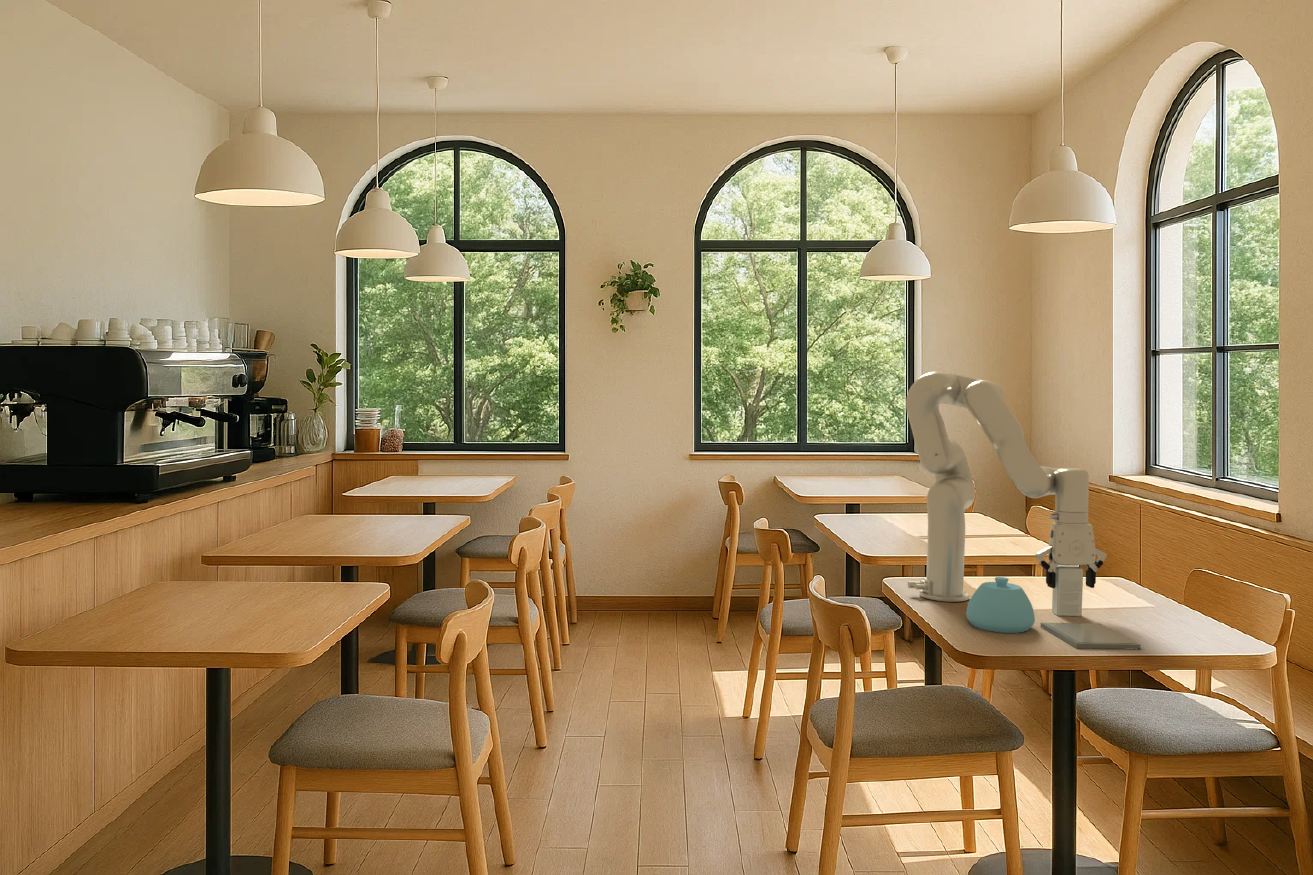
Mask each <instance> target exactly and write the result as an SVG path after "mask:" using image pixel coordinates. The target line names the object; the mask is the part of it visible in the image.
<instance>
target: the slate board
mask: <svg viewBox="0 0 1313 875" xmlns="http://www.w3.org/2000/svg"><path fill="white" fill-rule="evenodd" d="M1042 627H1043V628H1044V629H1043V628H1042ZM1040 628H1042V629H1043V630H1045V631H1047V632H1048V631H1049V632H1048V633H1050V634H1052V635H1054V636H1055V637H1057V638H1058V637H1059V638H1058V639H1059V640H1062V641H1063V642H1065V643H1067V644H1068V645H1070V646H1072V647H1074V649H1092V648H1142V647H1141V644H1140V643H1138V642H1137V641H1134V640H1132V639H1131V638H1129V637H1127V636H1125V635H1123V634H1121V633H1119V632H1117V631H1115V630H1114V629H1112V628H1109V627H1107V626H1105V625H1103V624H1101V623H1094V622H1093V623H1089V622H1088V623H1087V622H1086V623H1085V622H1084V623H1083V622H1082V623H1079V622H1077V623H1076V622H1040Z"/></svg>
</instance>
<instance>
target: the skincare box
mask: <svg viewBox="0 0 1313 875" xmlns="http://www.w3.org/2000/svg"><path fill="white" fill-rule="evenodd" d="M1054 572H1055V573H1056V587H1055V588H1052V593H1051V594H1052V598H1051V599H1052V601H1051V604H1052V605H1051V612H1052V613H1053V614H1054V613H1055V614H1054V615H1055V616H1057V617H1058V616H1059V617H1060V616H1061V617H1062V616H1063V617H1082V614H1083V613H1082V611H1083V590H1084V588H1083V584H1084V582H1083V581H1084V568H1082V567H1081V566H1080V565H1058V566H1057V567H1056V568H1055V569H1054Z"/></svg>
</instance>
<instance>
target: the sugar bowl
mask: <svg viewBox="0 0 1313 875" xmlns="http://www.w3.org/2000/svg"><path fill="white" fill-rule="evenodd" d="M994 580H995V581H986V582H983V583H981V584H980V585H979V586H978V587H977V589H976V590H975V591H974V593H973V594H972V596H971V597H970V598H969V601H968V603H967V608H966V618H967V620H968V621H969V623H971V625H972V626H973V627H975V628H977V629H980V630H984V631H988V632H992V631H993V633H1000V634H1020V633H1019V632H1022V633H1025V632H1024V631H1026V632H1027V631H1029V630H1030V629H1031V628H1032V627H1033V626H1034V624H1035V623H1036V620H1035V618H1036V617H1035V612H1034V607H1033V604H1032V602H1031V600H1030V599H1029V597H1028V595H1027V594H1026V591H1025V590H1024V589H1023V588H1022V586H1020V585H1018V584H1014V583H1011V582H1009V578H1008V577H1005V576H996V577H994Z"/></svg>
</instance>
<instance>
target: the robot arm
mask: <svg viewBox="0 0 1313 875" xmlns="http://www.w3.org/2000/svg"><path fill="white" fill-rule="evenodd" d="M905 400H906V401H905V406H906V414H907V417H908V421H909V425H910V428H911V431H912V437H913V440H914V444H915V447H916V450H917V453H918V454H917V455H918V458H919V461H920V465H921V467H922V468H923V470H924V471H925V472H927V473H929V474H931V475H933V476H934V477H935V481H936V482H933V483H932V485H931V486H930V487H929V489H928V492H927V494H926V511H927V544H926V545H927V552H926V575H925V577H922V580H921V579H920V580H919V581H916V580H911V581H910V580H908V581H907V588H908V589H915V590H919V596H920V597H922V598H924V599H927V600H932V601H937V602H946V603H947V602H950V603H952V602H953V603H954V602H956V603H957V602H958V603H959V602H966V601H968V600H970V594H969V592H966V591H964V581H965V580H964V577H965V575H964V574H965V571H964V570H965V555H966V554H965V550H966V548H965V547H966V517H965V510H967V509H969V507H971V506H972V505H973V503H974V502H975V498H976V489H975V484H974V481H973V477H972V474H971V471H970V470H971V469H970V467H969V463H968V461H967V457H966V454H965V452H964V451H965V450H964V449H963V448H962V446H961V444H959V442H957V441H955V440H954V439H951V438H949V436H948V435H949V434H948V432H947V429H946V425H945V422H944V419H943V417H942V414H941V412H940V409H939V407H940V405H941V404H942V405H945V404H946V405H950V406H955V407H958V408H963V409H967V410H968V411H969V413H970V414H971V415H972V417H973V419H974V420H975V421H976V423H977V424H978V425H979V428H981V430H982V432H983V433H984V434H985V436H986V438H987V439H988V440H989V442H990V443H991V445H992V448H993V449H994V452H995V454H996V456H997V457H998V459H999V461H1000V463H1001V465H1002V467H1003V469H1004V470H1005V472H1006V473H1007V475H1008V477H1010V479H1011V480H1012V482H1013V483H1014V485H1015V487H1016V488H1017V489H1018V491H1019V492H1021V493H1022V495H1024V496H1026V497H1028V498H1031V499H1039V498H1042V497H1046V496H1049V495H1051V496H1052V495H1055V496H1054V497H1055V500H1054V501H1055V503H1054V504H1055V506H1054V508H1055V509H1054V512H1053V513H1050V514H1049V518H1050V520H1053V521H1054V522H1052V523H1051V524H1052V525H1051V528H1050V533H1049V539H1048V547H1045V548H1043V549H1042V550H1040V551H1038V552H1036V553H1035V555H1034V556H1035V557H1036V559H1037V561H1038V563H1039V565H1040V566H1041V567H1042V568H1043V569H1044V571H1045V584H1046V585H1047V587H1048V588H1051V589H1053V588H1055V587H1056V573H1055V572H1054V569H1055V568H1056V567H1057V566H1058V565H1067V566H1085V567H1087V568H1086V570H1085V586H1086V587H1088V588H1091V589H1095V584H1096V582H1097V580H1096V579H1097V576H1096V575H1097V572H1098V571H1099V569H1100V568H1101V567H1102V566H1103V565H1104V562H1105V561H1106V558H1107V556H1108V555H1107V553H1106V552H1104V551H1102V550H1101V549H1099V548H1097V547H1096V542H1095V534H1094V529H1093V528H1094V527H1093V524H1091V523H1089V495H1090V494H1089V486H1090V484H1089V483H1090V482H1089V481H1090V479H1089V478H1090V475H1089V472H1088V471H1087V470H1086V469H1084V468H1077V467H1063V468H1059V467H1058V468H1057V467H1051V466H1045V465H1040V464H1039V462H1037V460H1036V459H1035V457H1034V455H1033V454H1032V453H1031V451H1030V449H1029V446H1028V445H1027V443H1026V440H1025V436H1024V434H1025V433H1024V429H1023V426H1022V424H1021V422H1020V421H1019V420H1018V419H1017V417H1016V415H1015V414H1014V413H1013V412H1012V410H1011V409H1010V407H1009V406H1008V405H1007V403H1006V402H1005V393H1004V391H1003V388H1002V387H1001V385H999V384H998V383H997V382H995V381H991V380H986V379H980V378H975V377H970V376H964V375H962V374H956V373H952V372H945V371H944V372H943V371H930V372H927V373H925V374H923V375H921V376H920V377H918V378H917V379H916V380H915V381H914V382H913V383H912V385H911V386H910V388H909V389H908V391H907V395H906V399H905ZM1045 556H1048V562H1047V561H1046V560H1045ZM1096 556H1097V558H1096Z"/></svg>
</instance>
